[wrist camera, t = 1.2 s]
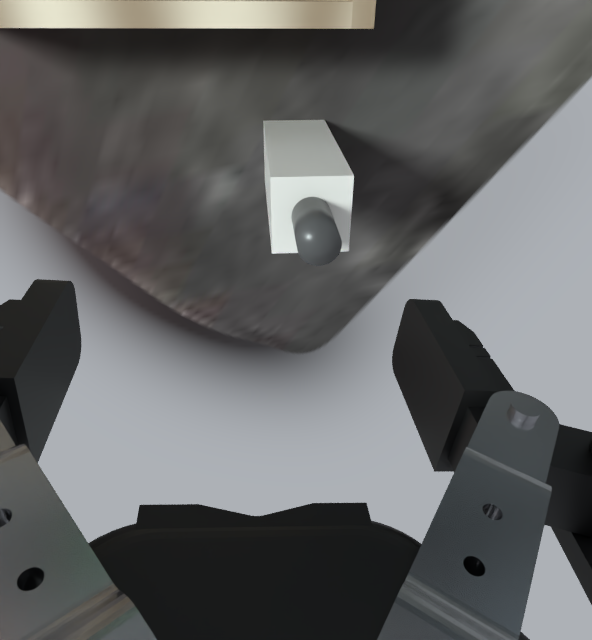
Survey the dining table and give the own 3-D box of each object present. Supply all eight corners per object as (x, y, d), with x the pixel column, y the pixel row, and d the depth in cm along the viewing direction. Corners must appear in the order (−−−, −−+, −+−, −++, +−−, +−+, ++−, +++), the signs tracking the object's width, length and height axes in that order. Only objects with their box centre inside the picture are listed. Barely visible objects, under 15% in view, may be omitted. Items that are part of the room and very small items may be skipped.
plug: (324, 119, 30) (367, 201, 20) (322, 179, 32) (360, 283, 22) (263, 120, 30) (273, 203, 19) (264, 180, 32) (275, 286, 22)
